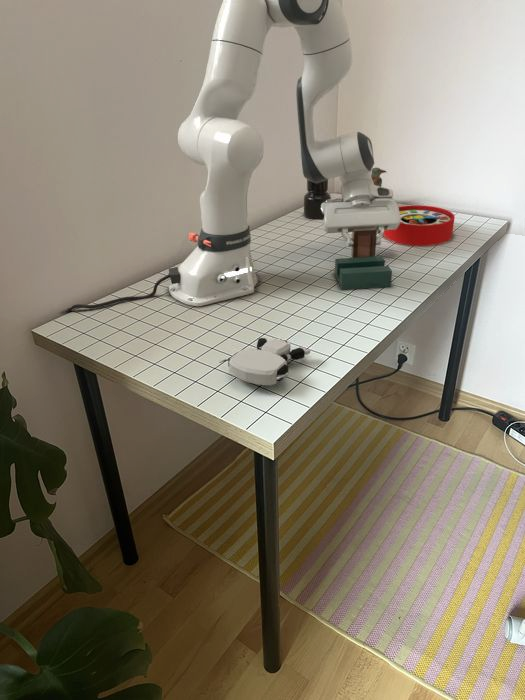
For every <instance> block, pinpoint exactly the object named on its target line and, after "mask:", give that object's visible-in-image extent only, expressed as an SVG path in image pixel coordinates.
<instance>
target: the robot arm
mask: <svg viewBox="0 0 525 700" xmlns="http://www.w3.org/2000/svg"><path fill="white" fill-rule="evenodd" d="M272 27H273V28H282V29H283V28H291V27H293V28H294V29H295V31H296V33H297V34H298V37H299V40H300V47H301V51H302V56H303V64H304V65H303V71H302V75H301V76H300V77H299V78H298V79H297V83H296V91H295V92H296V110H297V121H298V133H299V143H300V160H299V162H300V170H301V172H302V175H303V177H304V179H306V180H307V179H308V180H310V181H311V182H314V183H316V184H317V183H320V182H323V181H326V180H328V181H329V180H330V179H334V178H337V177H339V179H340V182H341V185H340V186H341V187H340V193H341V198H334V199H333V198H331V199H327V200H326V201H324V202H323V203H322V204H321V211H322V213H323V214H324V218H323V231H324V232H325V233H326V234H340V233H341V237H342V238H343V240H344V241H345V242H346V247H347V248H352V247H353V245H354V243H353V238H352V237H350V236H349V235H348V233H352V232H353V229H356V228H373V227H375V228H376V229H377V238H376V246H381V245H382V243H383V241H382V236H383V232H384V230H395V229H397V228H398V226H399V225H400V222H401V217H400V212H399V208H398V207H399V205H398V203H397V201H396V200H395V199H394V198H393V197H394V191H393V189H391V188H387V187H383V186H381V187H380V186H376V185H374V183H373V180H372V178H371V175H372V169H373V168H374V165H375V159H374V149H373V143H372V140H371V139H370V137H369V136H367V135H366V134H365V133H363V132H360V131H353V132H350V133H346V134H342V135H340V136H336V137H332V138H328V139H325V140H319V139H317V136H316V135H317V134H316V124H315V107H316V106H317V104H318V103H319V101H320V100H321V99H322V98H324V97H325V96H326V95H328V93H330V92H331V91H333V90H334V89H336V88H337V87H338V86H339V85H340V84H341V83H342V82H343V81H344V80H345V79H346V78H347V76H348V75H349V72H350V70H351V68H352V65H353V51H352V42H351V37H350V31H349V28H348V24H347V20H346V17H345V14H344V10H343V8H342V5H341V2H340V0H222V2H221V5H220V8H219V10H218V14H217V17H216V20H215V24H214V29H213V31H212V32H213V33H212V37H211V44H210V47H209V53H208V60H207V64H206V68H205V69H206V70H205V74H204V79H203V83H202V85H201V89H200V91H199V94H198V96H197V98H196V101H195V103H194V105H193V108H192V110H191V112H190V114H189V115H188V117H187V118H186V119H185V120H184V121H182V123H181V124H180V126H179V128H178V132H177V144H178V147H179V149H180V151H181V152H182V153H183V154H184V156H185V157H187V158H188V159H189V160H191V161H192V162H194V163H195V164H197V165H200V166H204V167H206V170H207V179H206V184H205V188H204V190H203V191H202V192H201V193H200V195H199V207H200V218H201V229H200V232H199V234H198V233H195V232H189V233H188V237H187V238H188V240H189V241H191V242H193V243H196V244H197V246H196V247H195V248H194V249H193V250H192V252H191V253H190V254H189V255H188V256H187V257H186V258H185V259H184V261H183V262H182V263H181V264H180V265H179V266H176V267H169V268H168V273H169V274H167V275H165V276H163V277H161V278H159V279H158V280H157V281H156V282H155V284H154V285H153V288H152V289H153V290H152V291H151V292H150V293H148V294H146V295H142V296H123V297H118V298H115V299H111V300H108V301H104V302H100V303H96V304H83V303H78V304H72V305H73V306H72V305H71V306H72V307H71V308H69V307H67V309H66V310H65V313H70V312H71V311H72V310H74V309H97V308H102V307H106V306H109V305H112V304H115V303H120V302H125V301H136V300H143V299H144V300H145V299H149V298H152V297H153V296H154V295H156V293H157V290H158V286H159V285H160V284H161V283H163V282H164V281H166V280H168V279H170V282H171V284H170V285H169V286H168V291H169V294H170V296H171V297H172V298H174V299H175V300H177V301H178V302H180V303H183V304H185V305H189V306H191V307H203V306H207V305H211V304H215V303H219V302H223V301H226V300H230V299H234V298H238V297H239V298H240V297H243V296H245V295H246V296H247V295H250V294H254V293H255V287H256V285H257V283H258V281H259V280H258V277H257V275H256V270H255V268H254V264H253V259H252V253H251V241H252V238H251V237H252V236H251V227H250V225H249V215H248V192H249V185H250V181H251V178H252V175H253V172H254V171H255V170H256V169H257V168H258V167H259V165H260V164H261V162H262V160H263V157H264V152H265V145H264V140H263V137H262V135H261V134H260V132H259V131H258V130H257V129H256V128H254V127H252V126H251V125H249V124H247V123H246V122H245V121H243V120H238V118H239V116H240V113H241V111H242V110H243V108H244V106H245V105H246V104H247V103H248V101H250V100H251V99H252V98H253V96H254V95H255V92H256V89H257V84H258V80H259V74H260V69H261V64H262V59H263V56H264V50H265V45H266V38H267V36H268V34H269V32H270V29H271V28H272Z"/></svg>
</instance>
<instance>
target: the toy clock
mask: <svg viewBox="0 0 525 700" xmlns="http://www.w3.org/2000/svg"><path fill="white" fill-rule="evenodd" d="M398 208H399V212H400V217H401V222H400V225H399V226H398V228H397V229H395V230H384V232H383V234H382V236H383V237H384V238H385V239H387V240H388V241H390V242H393V243H396V244H399V245H400V244H401V245H405V246H412V247H413V246H414V247H415V246H416V247H428V246H429V247H430V246H438V245H442V244H445V243H447V242H449V241H450V240H451V239H452V238H453V232H454V227H455V226H454V225H455V214H454V213H453V212H451V211H450V210H448V209H445V208H441V207H437V206H431V205H418V204H415V205H412V204H411V205H401V206H398Z"/></svg>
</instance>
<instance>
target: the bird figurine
mask: <svg viewBox="0 0 525 700" xmlns="http://www.w3.org/2000/svg"><path fill="white" fill-rule="evenodd" d="M385 173H387V170H385V169H381V167H373V168H372V175H371V178H372V180H373V183H374V185H376V186H380V187H382V184H383V179H382V177H381V174H385Z"/></svg>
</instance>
